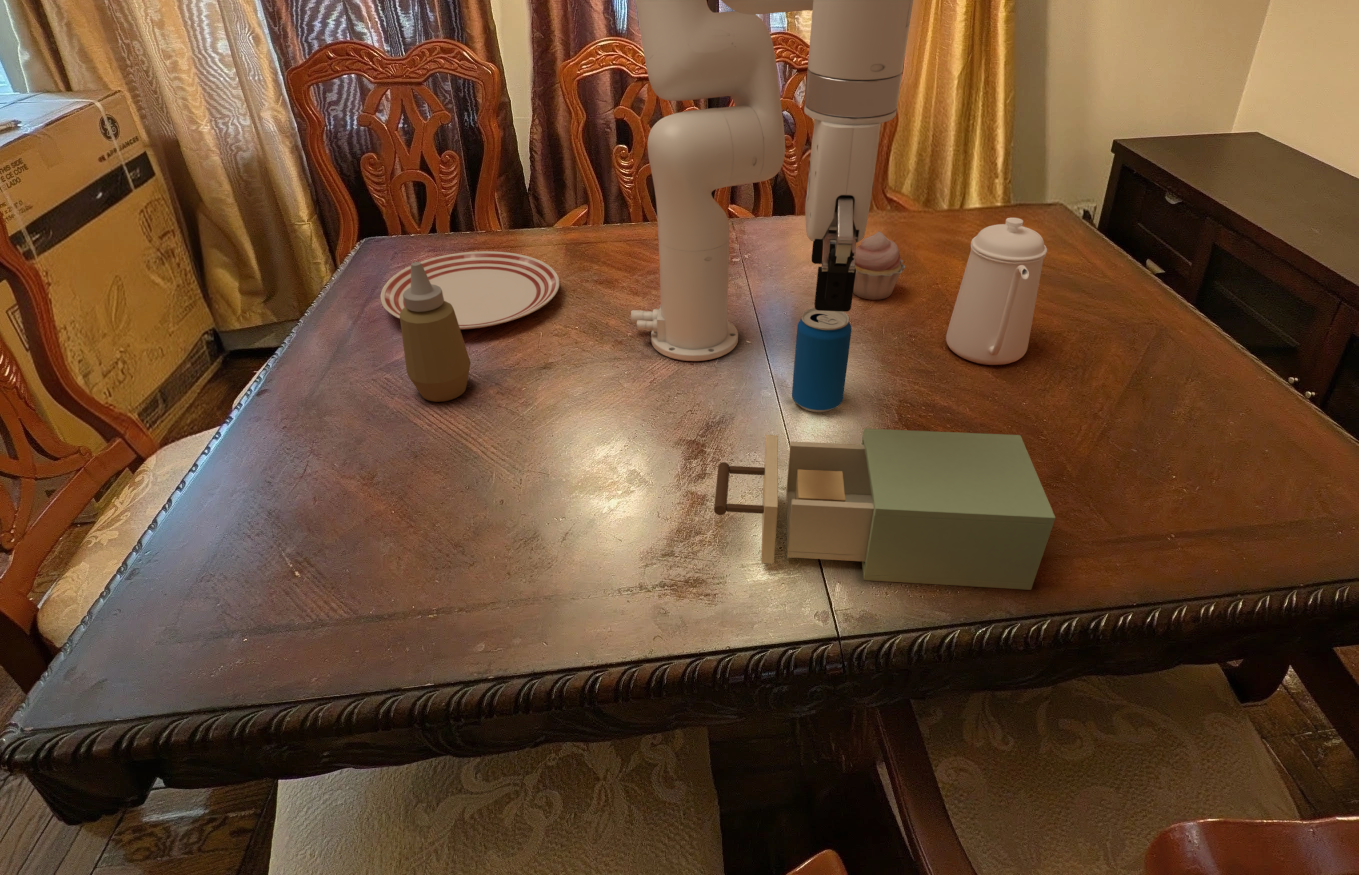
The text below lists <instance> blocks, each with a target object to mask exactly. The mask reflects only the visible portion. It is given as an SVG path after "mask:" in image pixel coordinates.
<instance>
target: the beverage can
mask: <svg viewBox="0 0 1359 875" xmlns="http://www.w3.org/2000/svg"><path fill="white" fill-rule="evenodd" d="M796 326H797V327H796V337H795V338H796V339H795V351H794V363H793V375H792V376H793V377H792V390H791V397H792V401H794V403H795V404H797V405H798V406H800V407H801V408H802V409H804V410H806V411H808V412H812V413H826V412H829V411H831V410H833V409H836V408H838V407H840V405H841V404H842V403H843V401H844V396H845V395H844V394H845V387H846V380H847V378H846V377H847V371H848V361H849V354H850V348H851V347H850V345H851V337H852V330H853V329H852V325H851V322H850V317H849V315H848V314H847V313H846V312H842V311H819V310H816V309H815V307H811V308H808V309H806V310H805V311H803V312H802V314H801V318H800V320H798V322H797V325H796Z"/></svg>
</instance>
